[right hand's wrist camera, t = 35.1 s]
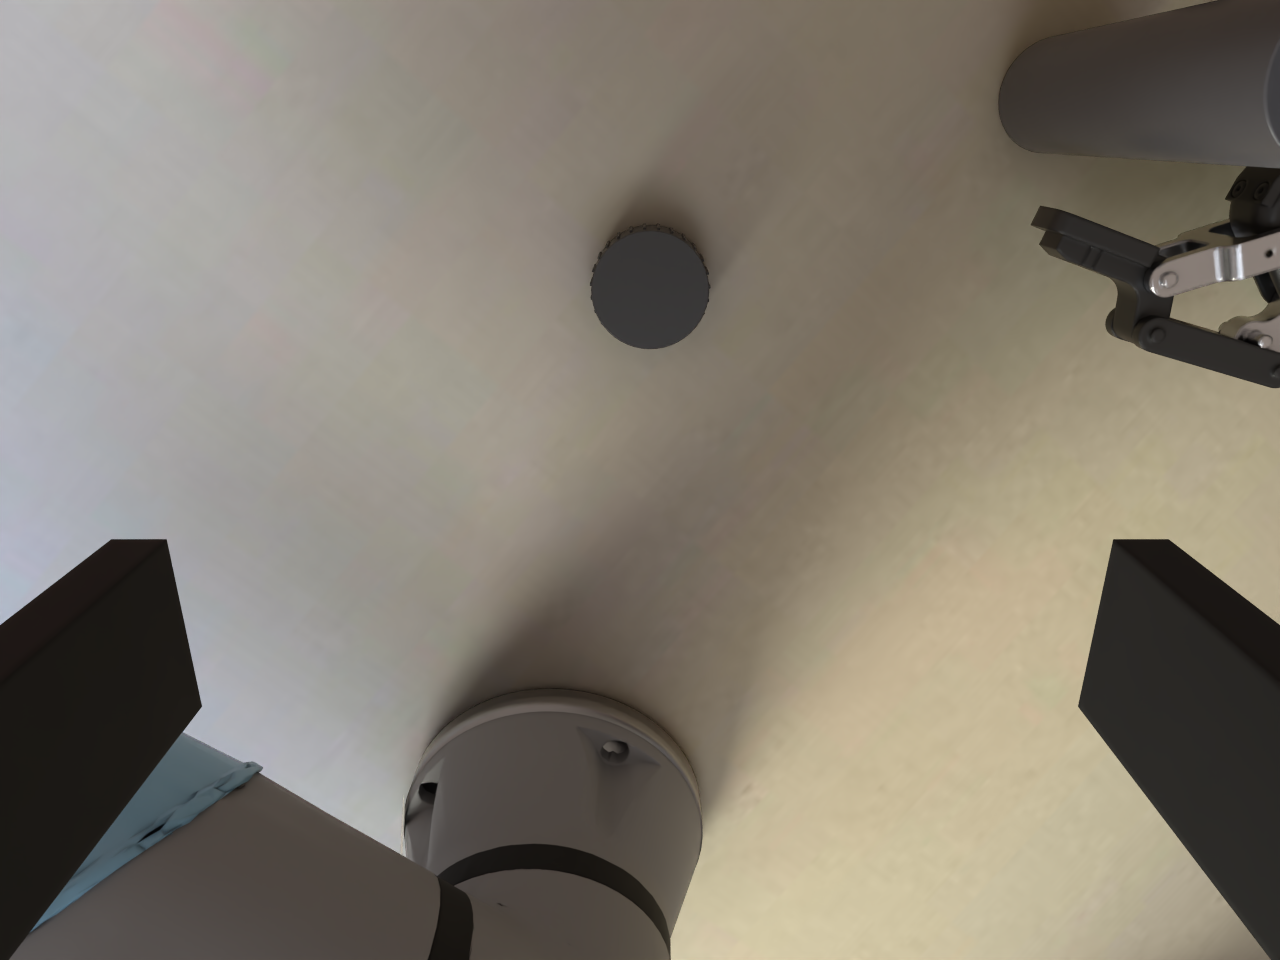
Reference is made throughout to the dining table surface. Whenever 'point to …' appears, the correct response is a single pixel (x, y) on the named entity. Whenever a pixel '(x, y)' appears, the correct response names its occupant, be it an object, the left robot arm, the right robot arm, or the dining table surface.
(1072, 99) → the gray bottle
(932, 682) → the dining table surface
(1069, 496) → the dining table surface
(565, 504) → the dining table surface
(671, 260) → the lid
